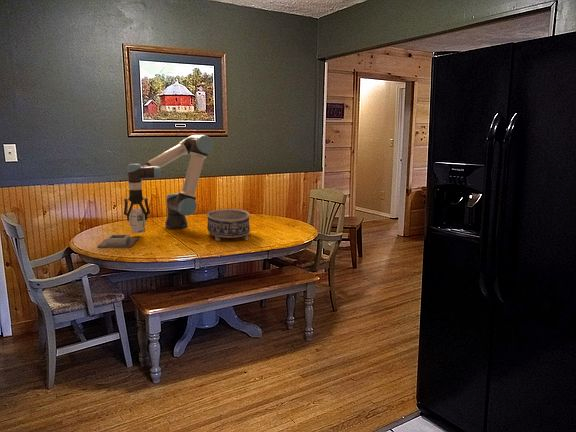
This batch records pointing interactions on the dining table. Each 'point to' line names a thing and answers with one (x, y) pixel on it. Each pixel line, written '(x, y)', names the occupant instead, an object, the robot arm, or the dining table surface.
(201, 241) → the dining table surface
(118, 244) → the mount plate
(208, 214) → the decorative bowl
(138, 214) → the syrup box
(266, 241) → the dining table surface
